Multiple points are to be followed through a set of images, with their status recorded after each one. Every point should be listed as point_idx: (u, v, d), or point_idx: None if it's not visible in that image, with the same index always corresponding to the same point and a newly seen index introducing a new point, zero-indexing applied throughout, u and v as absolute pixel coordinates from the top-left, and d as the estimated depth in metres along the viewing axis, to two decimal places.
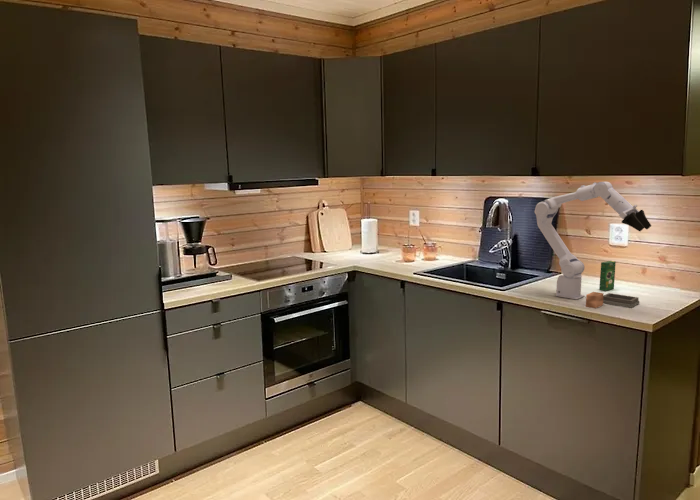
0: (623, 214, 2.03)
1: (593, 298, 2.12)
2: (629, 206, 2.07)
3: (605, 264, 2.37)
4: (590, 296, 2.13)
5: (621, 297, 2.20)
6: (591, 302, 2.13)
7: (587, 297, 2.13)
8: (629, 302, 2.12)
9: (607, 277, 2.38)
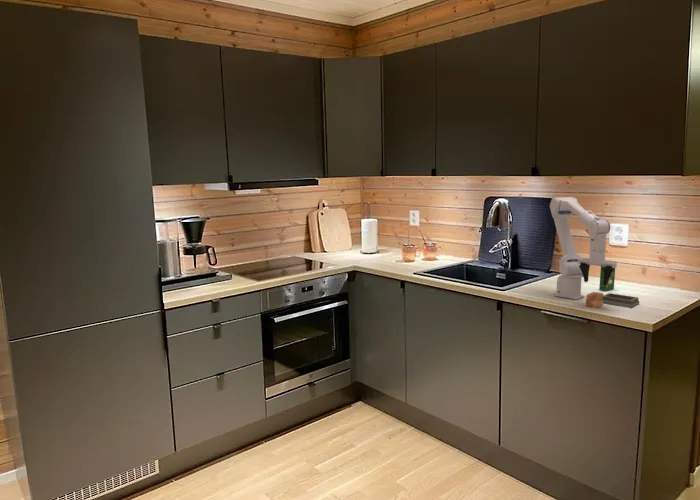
0: None
1: (593, 298, 2.12)
2: (590, 259, 2.12)
3: None
4: (590, 296, 2.13)
5: (621, 297, 2.20)
6: (591, 302, 2.13)
7: (587, 297, 2.13)
8: (629, 302, 2.12)
9: None
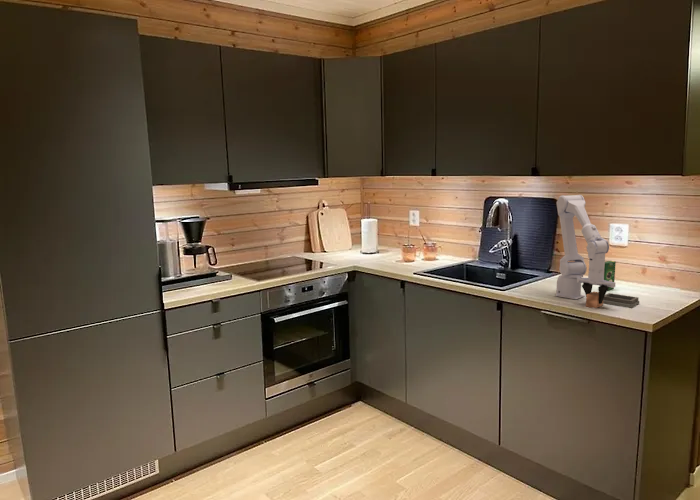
0: None
1: (593, 298, 2.12)
2: (589, 278, 2.13)
3: (605, 264, 2.37)
4: (590, 296, 2.12)
5: (621, 297, 2.20)
6: (591, 302, 2.12)
7: (587, 297, 2.13)
8: (629, 302, 2.12)
9: (607, 277, 2.38)
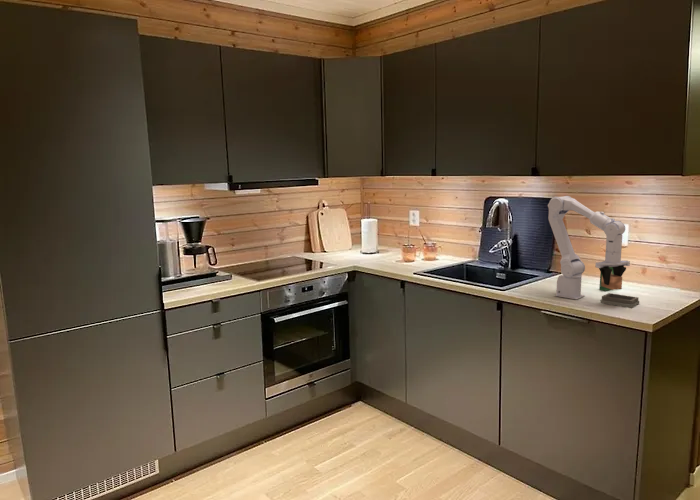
0: (597, 265, 2.12)
1: (619, 280, 2.12)
2: (613, 261, 2.11)
3: None
4: (617, 278, 2.12)
5: (621, 297, 2.20)
6: (617, 284, 2.12)
7: (614, 280, 2.12)
8: (629, 302, 2.12)
9: None
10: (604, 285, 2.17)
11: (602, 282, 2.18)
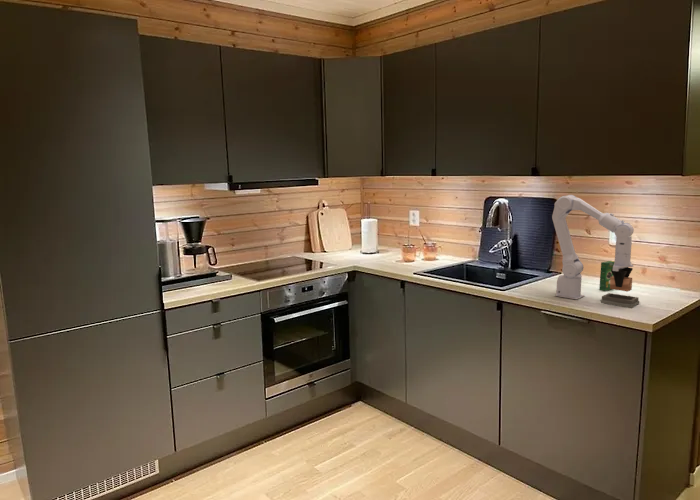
0: (616, 269, 2.10)
1: (631, 281, 2.15)
2: (627, 263, 2.13)
3: (605, 264, 2.37)
4: (630, 279, 2.14)
5: (621, 297, 2.20)
6: (630, 285, 2.14)
7: (629, 281, 2.13)
8: (629, 302, 2.12)
9: (607, 277, 2.38)
10: (615, 287, 2.17)
11: (611, 285, 2.18)
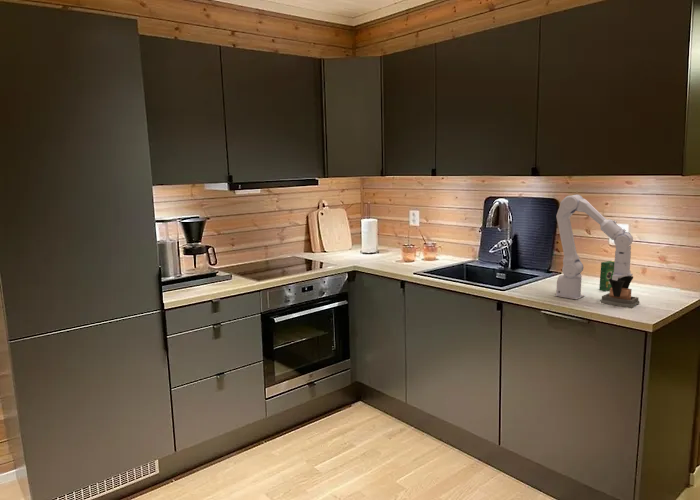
0: (615, 278, 2.11)
1: (630, 292, 2.15)
2: (626, 272, 2.13)
3: (605, 264, 2.37)
4: (629, 291, 2.14)
5: None
6: (629, 296, 2.15)
7: (628, 293, 2.14)
8: (629, 302, 2.12)
9: (607, 277, 2.38)
10: None
11: (611, 296, 2.18)
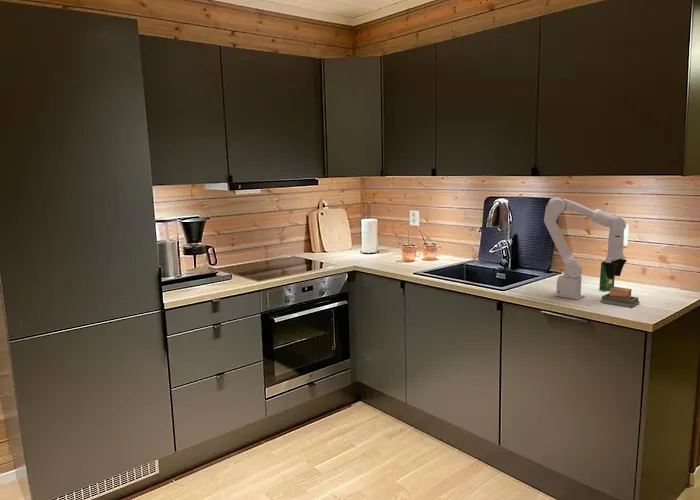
0: (609, 260, 2.17)
1: (630, 292, 2.15)
2: (619, 255, 2.19)
3: None
4: (629, 291, 2.14)
5: None
6: (629, 296, 2.15)
7: (628, 293, 2.14)
8: (629, 302, 2.12)
9: None
10: None
11: (611, 296, 2.18)
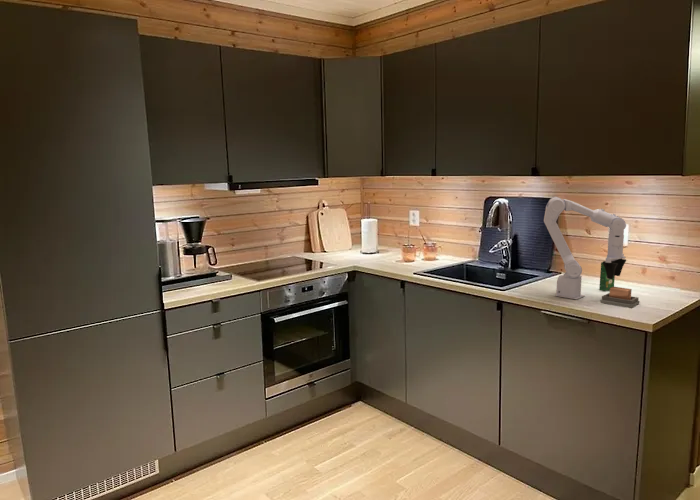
0: (609, 260, 2.17)
1: (630, 292, 2.15)
2: (619, 254, 2.20)
3: None
4: (629, 291, 2.14)
5: None
6: (629, 296, 2.15)
7: (628, 293, 2.14)
8: (629, 302, 2.12)
9: None
10: None
11: (611, 296, 2.18)
